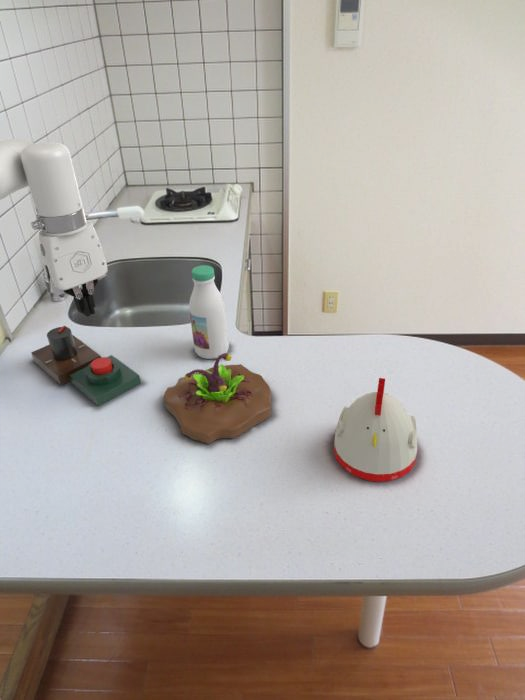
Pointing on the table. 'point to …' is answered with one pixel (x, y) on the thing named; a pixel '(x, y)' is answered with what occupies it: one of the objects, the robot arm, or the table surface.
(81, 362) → the panel
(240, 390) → the plant
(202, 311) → the milk bottle
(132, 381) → the button box
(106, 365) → the button
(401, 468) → the kitchen timer
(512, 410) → the table surface
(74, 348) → the lock knob
